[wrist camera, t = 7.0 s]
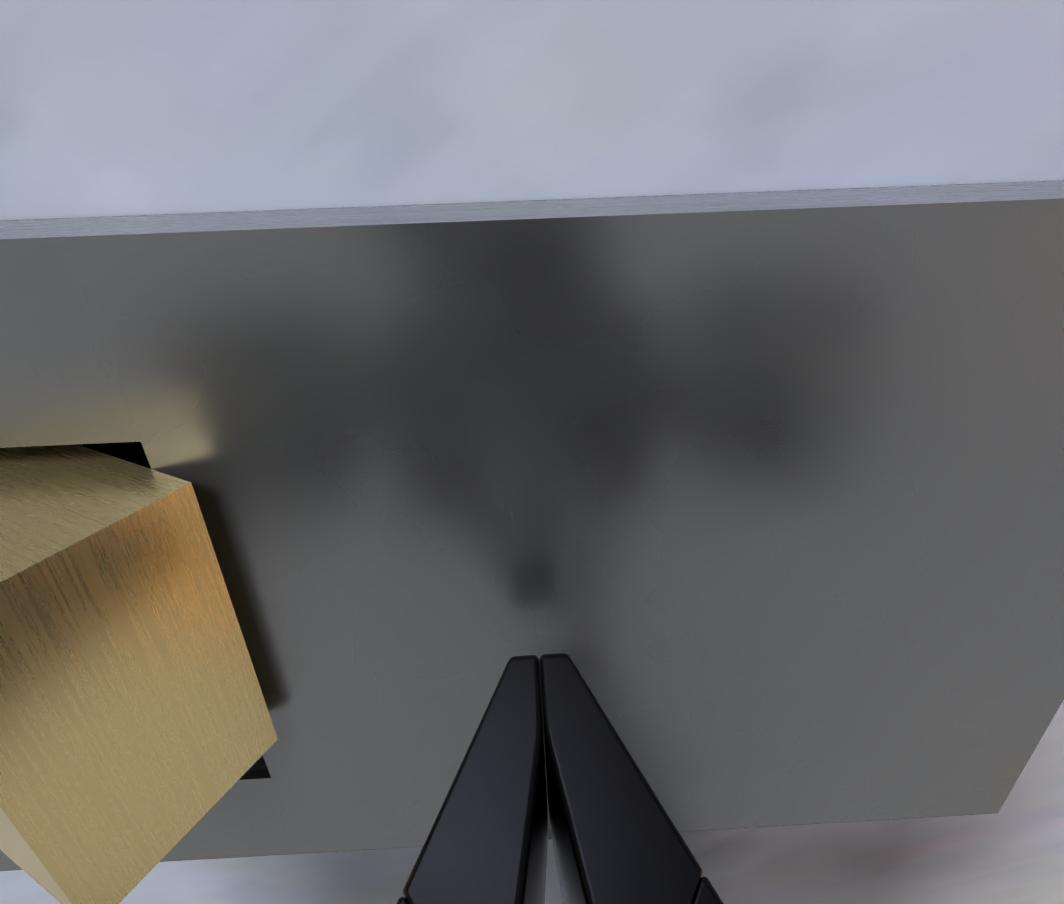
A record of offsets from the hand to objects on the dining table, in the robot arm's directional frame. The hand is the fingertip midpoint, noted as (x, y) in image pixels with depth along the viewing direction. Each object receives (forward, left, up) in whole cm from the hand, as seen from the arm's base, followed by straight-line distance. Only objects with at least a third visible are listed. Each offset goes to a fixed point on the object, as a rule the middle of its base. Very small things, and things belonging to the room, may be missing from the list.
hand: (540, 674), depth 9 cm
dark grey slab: (0, +3, -3) cm, 4 cm away
